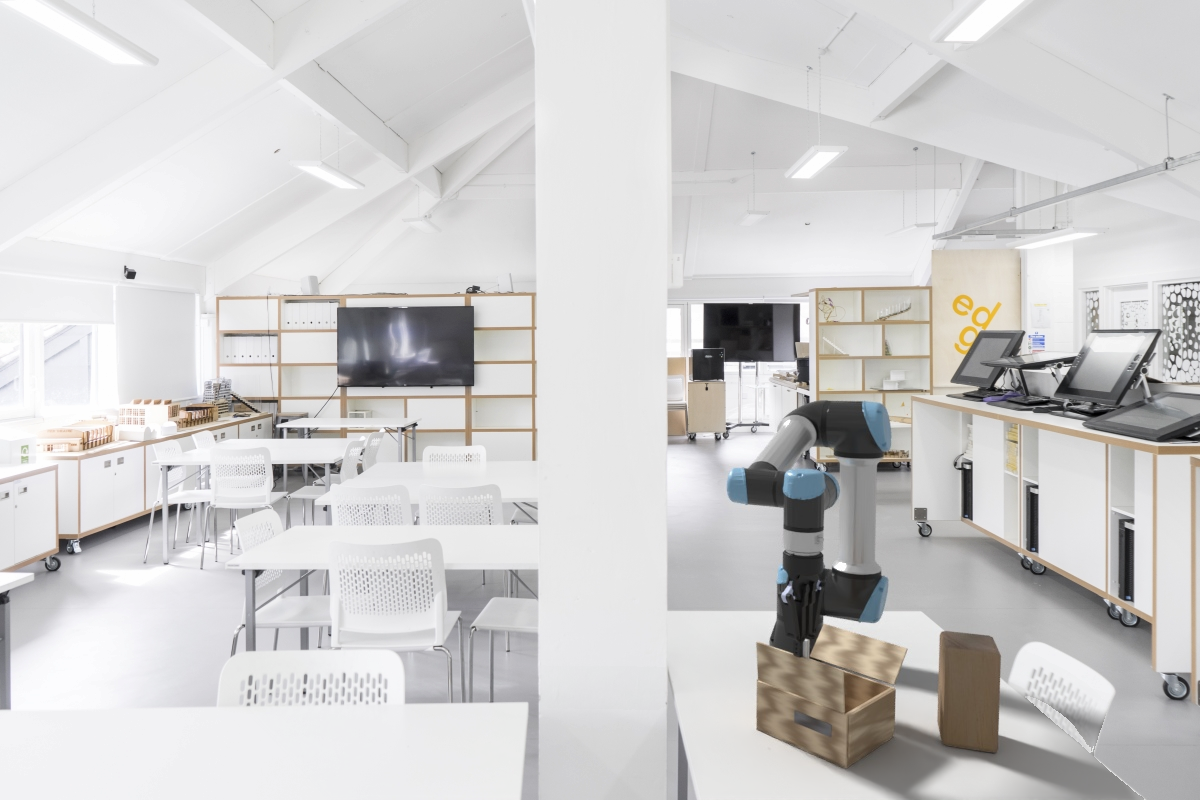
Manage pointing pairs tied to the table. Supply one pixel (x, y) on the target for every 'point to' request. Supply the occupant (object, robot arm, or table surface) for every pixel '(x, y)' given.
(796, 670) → the flap near
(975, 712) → the wooden block
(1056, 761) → the table surface
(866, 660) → the flap far
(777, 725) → the carton
